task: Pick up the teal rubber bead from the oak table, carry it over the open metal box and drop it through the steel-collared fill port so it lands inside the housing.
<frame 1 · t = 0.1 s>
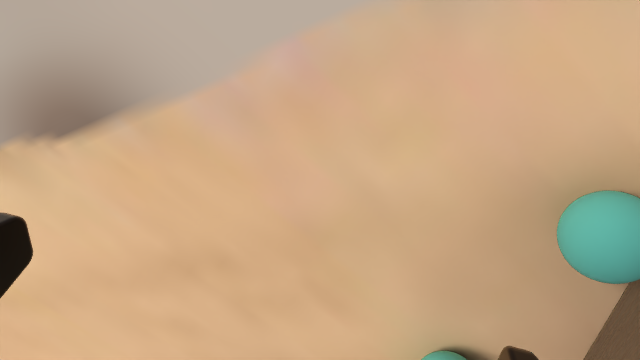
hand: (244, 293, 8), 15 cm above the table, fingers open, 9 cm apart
bead: (445, 359, 27), on the table
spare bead: (594, 212, 21), on the table
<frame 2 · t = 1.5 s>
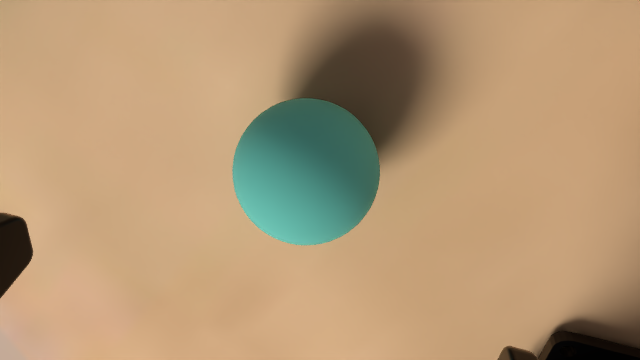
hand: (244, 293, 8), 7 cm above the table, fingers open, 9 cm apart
bead: (322, 144, 14), on the table
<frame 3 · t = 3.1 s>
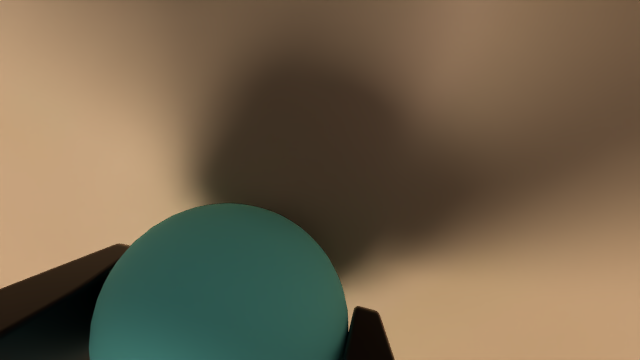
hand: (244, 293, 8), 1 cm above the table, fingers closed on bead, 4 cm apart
bead: (266, 252, 9), on the table, touching gripper
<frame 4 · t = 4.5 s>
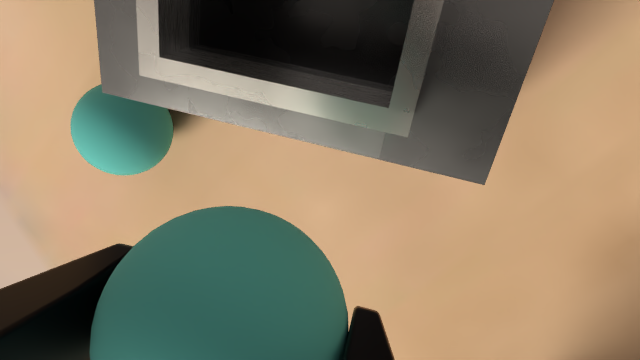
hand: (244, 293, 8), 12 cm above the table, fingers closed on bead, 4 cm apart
bead: (267, 255, 9), point 10 cm above the table, touching gripper
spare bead: (151, 115, 20), on the table
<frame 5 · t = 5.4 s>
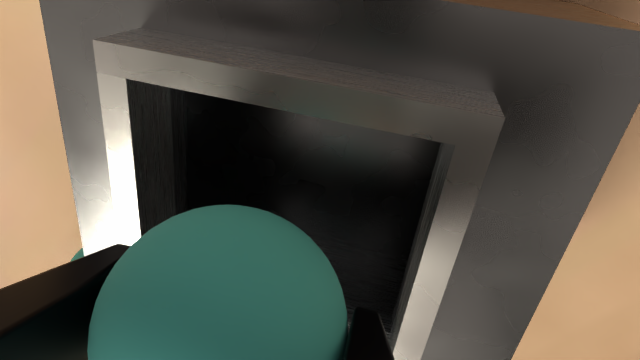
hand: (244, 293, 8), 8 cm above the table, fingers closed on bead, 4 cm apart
open metal box: (336, 128, 15), on the table
bead: (266, 254, 9), point 7 cm above the table, touching gripper
when the fingers open (8 cm above the table, at t = 5.8 s): bead drops 7 cm, resting on open metal box.
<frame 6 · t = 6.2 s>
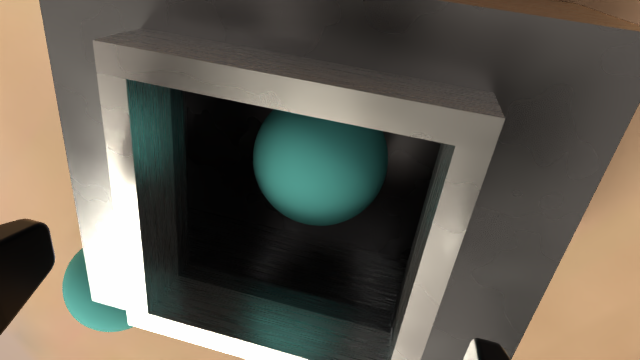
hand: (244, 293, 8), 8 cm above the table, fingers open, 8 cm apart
open metal box: (336, 128, 15), on the table
bead: (333, 134, 15), resting on open metal box
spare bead: (144, 253, 20), on the table
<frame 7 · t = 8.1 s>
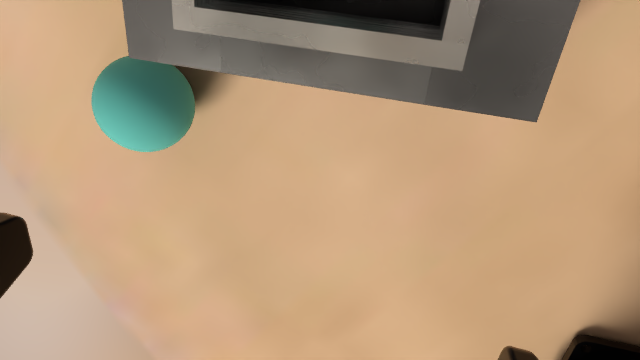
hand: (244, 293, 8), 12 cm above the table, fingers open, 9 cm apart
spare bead: (169, 90, 20), on the table
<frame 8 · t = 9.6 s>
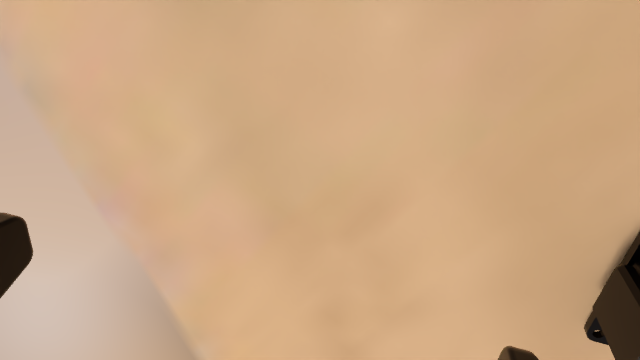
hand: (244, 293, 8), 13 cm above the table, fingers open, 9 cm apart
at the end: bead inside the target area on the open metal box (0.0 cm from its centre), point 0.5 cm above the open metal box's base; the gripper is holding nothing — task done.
